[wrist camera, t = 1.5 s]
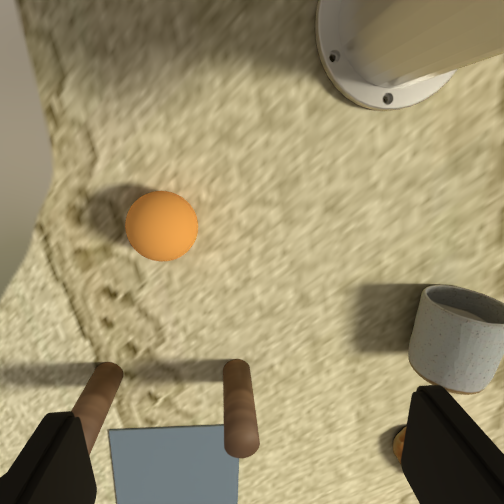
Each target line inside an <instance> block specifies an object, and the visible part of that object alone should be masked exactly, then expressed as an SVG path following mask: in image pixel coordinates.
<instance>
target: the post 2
mask: <svg viewBox="0 0 504 504" xmlns="http://www.w3.org/2000/svg"><path fill="white" fill-rule="evenodd" d="M223 396H224V449H225V451H226V452H227V454H229V455H230V456H232V457H235V458H246V457H249V456H251V455H253V454H254V453H255V452H256V451H257V450H258V448H259V445H260V441H259V434H258V426H257V419H256V411H255V404H254V396H253V389H252V381H251V374H250V367H249V365H248V364H247V363H246V362H245V361H243V360H240V359H235V360H231V361H229V362H228V363H227V364H226V365H225V366H224V369H223Z"/></svg>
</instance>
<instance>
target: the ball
mask: <svg viewBox="0 0 504 504" xmlns="http://www.w3.org/2000/svg"><path fill="white" fill-rule="evenodd" d="M125 229H126V234H127V237H128V240H129V242H130V243H131V245H132V246H133V248H134V249H135V250H136V251H137V252H138V253H139V254H141V255H142V256H144V257H146V258H148V259H151V260H155V261H170V260H174V259H177V258H179V257H181V256H182V255H184V254H185V253H186V252H187V251H188V250H189V249H190V248H191V247H192V245H193V244H194V242H195V240H196V237H197V233H198V221H197V217H196V214H195V212H194V210H193V208H192V207H191V205H190V204H189V203H188V202H187V201H186V200H185V199H184V198H182V197H181V196H179V195H177V194H174V193H172V192H167V191H155V192H151V193H147V194H145V195H143V196H142V197H140V198H139V199H137V200H136V201H135V202H134V203H133V205H132V206H131V207H130V209H129V211H128V213H127V217H126V222H125Z"/></svg>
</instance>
